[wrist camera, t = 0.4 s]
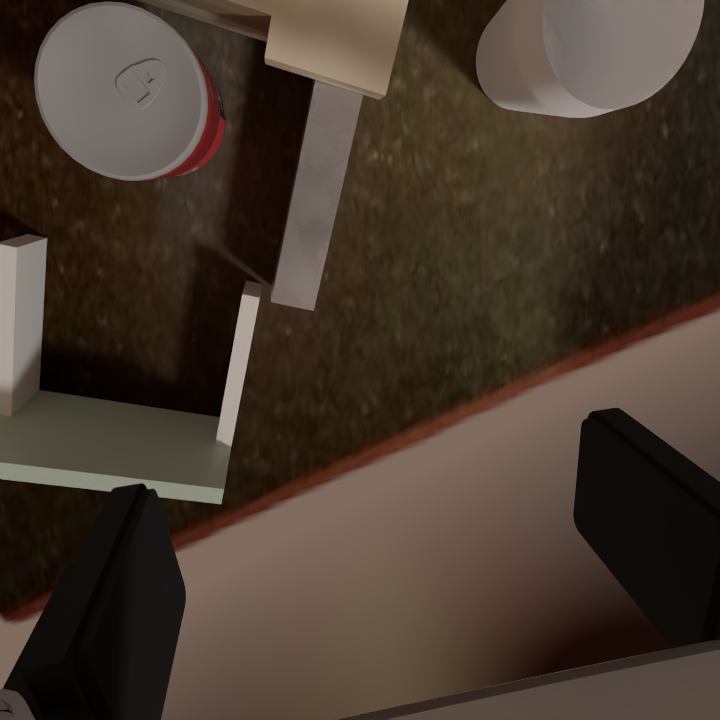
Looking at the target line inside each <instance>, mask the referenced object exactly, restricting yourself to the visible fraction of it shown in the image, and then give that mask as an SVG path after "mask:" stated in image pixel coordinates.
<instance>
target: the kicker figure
mask: <svg viewBox="0 0 720 720" xmlns="http://www.w3.org/2000/svg"><path fill="white" fill-rule="evenodd" d="M137 1H140V2H143V3H147V4H150V5H153V6H156V7H159V8H162V9H165V10H168V11H171V12H175V13H178V14H181V15H184V16H187V17H190V18H193V19H196V20H200V21H203V22H206V23H209V24H212V25H215V26H218V27H221V28H224V29H228V30H231V31H234V32H237V33H240V34H243V35H246V36H249V37H252V38H256V39H259V40H262V41H265V42H267V46H266V52H265V64H267V65H270V66H273V67H276V68H280V69H283V70H286V71H289V72H292V73H296V74H299V75H302V76H305V77H309V78H312V79H315V80H318V81H321V82H325V83H328V84H331V85H334V86H337V87H341V88H344V89H347V90H350V91H354V92H357V93H360V94H363V95H366V96H370V97H373V98H376V99H381V98H382V97H384V96H385V95H386V92H387V88H388V84H389V79H390V75H391V71H392V67H393V63H394V59H395V55H396V50H397V46H398V42H399V38H400V34H401V30H402V26H403V22H404V17H405V13H406V9H407V5H408V1H409V0H137Z"/></svg>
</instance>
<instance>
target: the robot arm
mask: <svg viewBox="0 0 720 720" xmlns="http://www.w3.org/2000/svg"><path fill="white" fill-rule="evenodd" d="M574 522H575V525H576V528H577V530H578V531H579V533H580V534H581V535H582V536H583V538H584V539H585V540H586V541H587V543H588V544H589V545H590V546H591V548H592V549H593V550H594V552H595V553H596V554H597V555H598V557H599V558H600V559H601V560H602V561H603V563H604V564H605V565H606V567H607V568H608V569H609V570H610V571H611V573H612V574H613V575H614V577H615V578H616V579H617V580H618V581H619V583H620V584H621V585H622V587H623V588H624V589H625V590H626V592H627V593H628V594H629V595H630V596H631V598H632V599H633V600H634V602H635V603H636V604H637V605H638V607H639V608H640V609H641V610H642V611H643V613H644V614H645V615H646V617H647V618H648V619H649V620H650V622H651V623H652V624H653V625H654V627H655V628H656V629H657V630H658V632H659V633H660V634H661V635H662V637H663V638H664V639H665V640H666V642H667V643H668V644H669V645H670V646H671V648H672V649H668V650H662V651H658V652H653V653H648V654H643V655H638V656H634V657H628V658H624V659H619V660H615V661H609V662H605V663H600V664H595V665H590V666H585V667H580V668H575V669H570V670H565V671H561V672H556V673H551V674H546V675H542V676H537V677H533V678H528V679H523V680H519V681H513V682H509V683H504V684H499V685H495V686H490V687H485V688H481V689H476V690H471V691H467V692H462V693H457V694H452V695H448V696H443V697H438V698H434V699H429V700H424V701H420V702H415V703H410V704H405V705H401V706H396V707H392V708H387V709H383V710H378V711H373V712H369V713H364V714H360V715H355V716H350V717H346V718H342V719H337V720H720V482H719V481H717V480H716V479H715V478H713V477H712V476H711V475H709V474H708V473H706V472H705V471H704V470H703V469H701V468H700V467H698V466H697V465H696V464H694V463H693V462H692V461H690V460H689V459H688V458H686V457H685V456H684V455H682V454H681V453H679V452H678V451H677V450H675V449H674V448H673V447H671V446H670V445H669V444H667V443H666V442H665V441H663V440H662V439H660V438H659V437H658V436H656V435H655V434H654V433H652V432H651V431H650V430H648V429H647V428H646V427H644V426H643V425H642V424H640V423H639V422H637V421H636V420H635V419H633V418H632V417H631V416H629V415H628V414H627V413H625V412H624V411H622V410H621V409H619V408H612V409H605V410H598V411H592V412H591V413H590V414H589V416H588V418H587V419H585V420H583V422H582V425H581V435H580V446H579V459H578V470H577V481H576V492H575V503H574ZM185 602H186V591H185V586H184V582H183V578H182V575H181V572H180V568H179V565H178V561H177V558H176V555H175V551H174V548H173V545H172V541H171V538H170V535H169V531H168V528H167V525H166V521H165V518H164V514H163V511H162V508H161V504H160V501H159V498H158V494H157V492H156V490H155V489H147V487H146V486H145V484H143V483H140V484H133V485H127V486H121V487H115V488H113V489H112V490H111V492H110V494H109V496H108V498H107V500H106V502H105V504H104V506H103V508H102V510H101V512H100V514H99V516H98V517H97V519H96V521H95V523H94V525H93V527H92V529H91V531H90V533H89V535H88V537H87V539H86V541H85V543H84V545H83V547H82V549H81V551H80V553H79V555H78V557H77V559H76V560H75V561H73V562H71V563H70V564H69V565H68V566H67V567H66V569H65V570H64V572H63V574H62V576H61V578H60V580H59V582H58V584H57V586H56V587H55V589H54V591H53V593H52V595H51V597H50V599H49V601H48V603H47V605H46V607H45V609H44V610H43V612H42V614H41V616H40V618H39V620H38V622H37V624H36V626H35V628H34V630H33V632H32V634H31V635H30V637H29V639H28V641H27V643H26V645H25V647H24V649H23V651H22V653H21V655H20V656H19V659H18V660H17V662H16V664H15V666H14V668H13V670H12V672H11V674H10V676H9V678H8V679H7V681H6V683H5V685H4V687H3V689H1V690H0V720H161V716H162V711H163V707H164V702H165V697H166V693H167V688H168V683H169V679H170V674H171V669H172V664H173V660H174V655H175V650H176V645H177V641H178V636H179V631H180V627H181V621H182V617H183V613H184V608H185Z"/></svg>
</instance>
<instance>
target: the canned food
mask: <svg viewBox="0 0 720 720" xmlns="http://www.w3.org/2000/svg"><path fill="white" fill-rule="evenodd" d="M34 85H35V93H36V100H37V103H38V106H39V110H40V113H41V116H42V118H43V120H44V122H45V124H46V126H47V128H48V130H49V132H50V133H51V135H52V136H53V137H54V139H55V140H56V141H57V142H58V144H59V145H60V146H61V148H63V149H64V150H65V151H66V152H67V153H68V154H69V155H70V156H71V157H72V158H73V159H74V160H76V161H77V162H79V163H80V164H82V165H84V166H85V167H87V168H88V169H90V170H92V171H95V172H97V173H99V174H102V175H104V176H107V177H111V178H116V179H120V180H132V181H145V180H152V179H159V178H166V177H174V176H180V175H185V174H188V173H190V172H193V171H196V170H197V169H199V168H200V167H202V166H203V165H205V164H206V163H207V162H208V161H209V160H210V159H211V158H212V157H213V155H214V154H215V152H216V151H217V149H218V148H219V146H220V143H221V141H222V138H223V135H224V130H225V107H224V102H223V98H222V95H221V93H220V90H219V88H218V86H217V84H216V83H215V81H214V79H213V78H212V76H211V75H210V73H209V72H208V70H207V69H206V68H205V66H204V65H203V63H202V62H201V61H200V59H199V58H198V56H197V55H196V54H195V52H194V51H193V49H192V48H191V47H190V46H189V45H188V44H187V42H186V41H185V40H184V39H183V38H182V37H181V36H180V34H179V33H178V32H177V31H176V30H175V29H174V28H172V27H171V26H170V25H169V24H167V23H166V22H165V21H164V20H162V19H161V18H159V17H157V16H156V15H154V14H152V13H150V12H148V11H146V10H144V9H142V8H140V7H136V6H133V5H130V4H126V3H120V2H108V1H106V2H98V3H91V4H87V5H85V6H82V7H79V8H77V9H74V10H72V11H71V12H69V13H68V14H67V15H65V16H64V17H62V18H61V19H59V20H58V22H57V23H56V24H55V25H54V26H53V27H52V28H51V29H50V31H49V32H48V33H47V35H46V37H45V39H44V41H43V43H42V44H41V46H40V49H39V53H38V56H37V60H36V63H35V75H34Z"/></svg>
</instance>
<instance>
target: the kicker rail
mask: <svg viewBox="0 0 720 720" xmlns="http://www.w3.org/2000/svg"><path fill="white" fill-rule="evenodd" d="M362 97H363V94H360V93H357V92H354V91H350V90H347V89H344V88H341V87H337V86H334V85H331V84H328V83H325V82H321V81H318V80H315V79H313V81H312V86H311V91H310V96H309V101H308V106H307V111H306V116H305V121H304V126H303V131H302V136H301V141H300V147H299V152H298V157H297V162H296V167H295V172H294V177H293V182H292V187H291V192H290V197H289V202H288V207H287V212H286V217H285V222H284V227H283V232H282V237H281V242H280V247H279V253H278V258H277V263H276V268H275V273H274V278H273V283H272V293H271V302H273V303H278V304H283V305H288V306H293V307H298V308H303V309H307V310H312V311H314V307H315V303H316V298H317V294H318V289H319V285H320V281H321V276H322V272H323V268H324V263H325V259H326V255H327V250H328V246H329V241H330V237H331V233H332V228H333V224H334V220H335V215H336V211H337V206H338V202H339V198H340V193H341V189H342V185H343V180H344V176H345V171H346V167H347V163H348V158H349V154H350V150H351V145H352V141H353V136H354V132H355V128H356V123H357V119H358V115H359V110H360V106H361V102H362Z"/></svg>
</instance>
